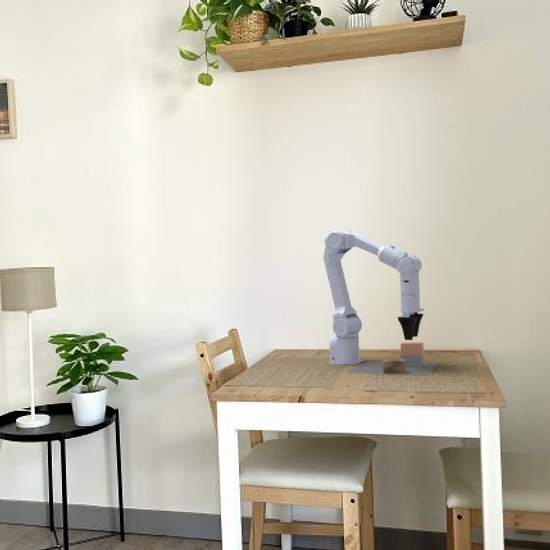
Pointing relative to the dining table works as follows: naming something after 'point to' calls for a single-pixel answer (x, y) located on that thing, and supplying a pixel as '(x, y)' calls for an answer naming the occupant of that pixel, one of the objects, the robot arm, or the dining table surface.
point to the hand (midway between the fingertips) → (411, 338)
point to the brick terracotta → (412, 349)
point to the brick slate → (413, 360)
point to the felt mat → (378, 369)
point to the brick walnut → (394, 366)
